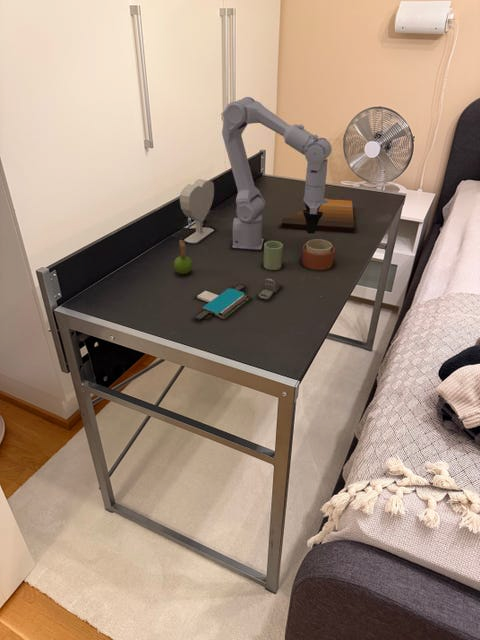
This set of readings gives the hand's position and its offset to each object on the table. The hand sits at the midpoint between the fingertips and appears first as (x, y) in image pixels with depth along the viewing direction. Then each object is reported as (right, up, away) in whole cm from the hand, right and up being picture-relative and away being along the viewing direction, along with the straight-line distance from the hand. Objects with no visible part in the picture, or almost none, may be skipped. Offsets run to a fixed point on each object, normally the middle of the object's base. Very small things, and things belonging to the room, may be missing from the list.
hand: (310, 228), depth 144 cm
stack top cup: (+2, -10, +2) cm, 11 cm away
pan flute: (+7, +10, +32) cm, 35 cm away
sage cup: (-12, -11, 0) cm, 16 cm away
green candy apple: (-38, -15, -4) cm, 41 cm away
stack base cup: (+2, -10, +2) cm, 11 cm away
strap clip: (-13, -21, -13) cm, 28 cm away
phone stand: (-27, -23, -17) cm, 40 cm away
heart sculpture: (-36, +1, +19) cm, 40 cm away
